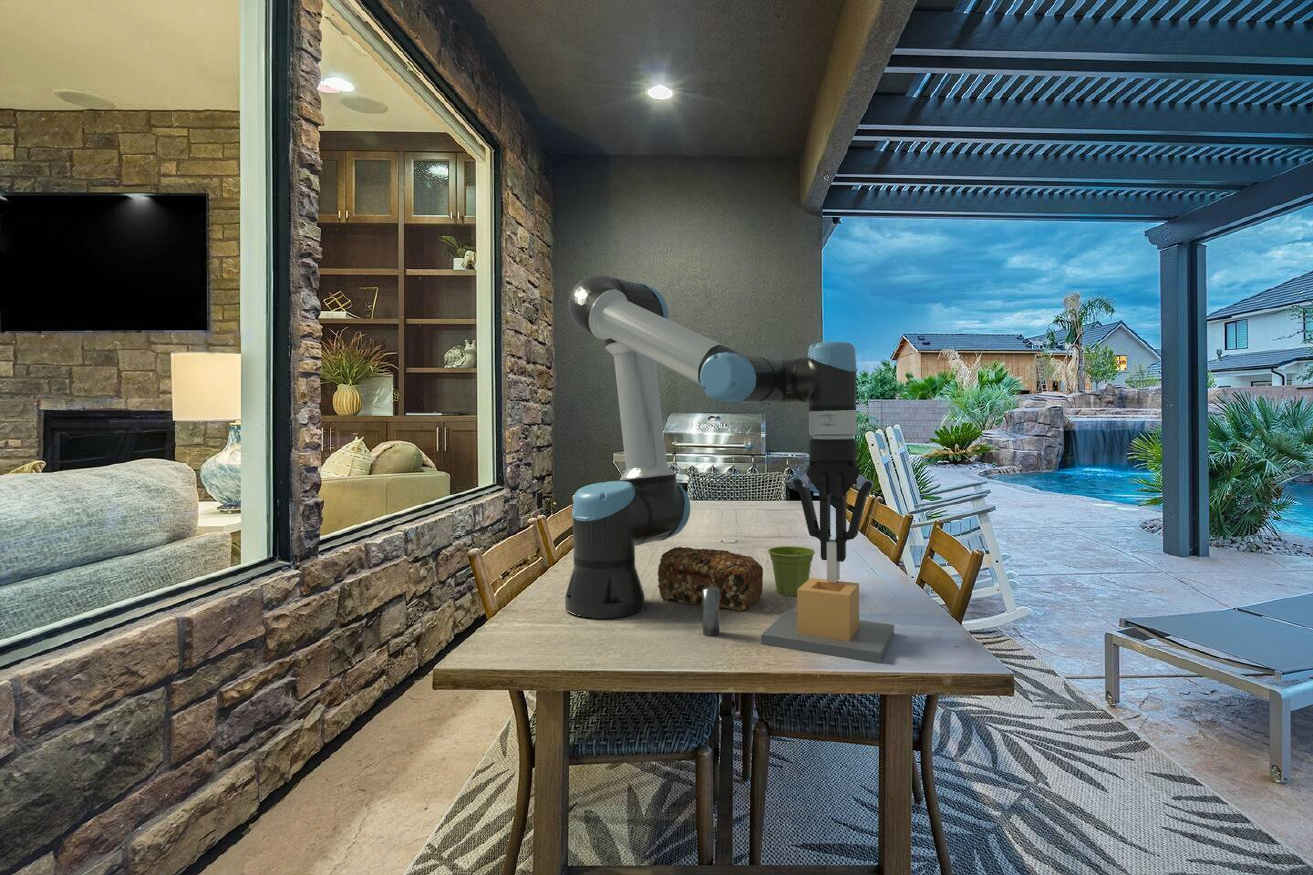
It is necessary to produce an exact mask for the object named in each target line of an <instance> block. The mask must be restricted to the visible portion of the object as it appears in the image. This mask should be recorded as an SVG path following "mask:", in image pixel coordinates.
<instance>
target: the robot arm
mask: <svg viewBox="0 0 1313 875" xmlns="http://www.w3.org/2000/svg"><path fill="white" fill-rule="evenodd" d="M567 305H568V313H569V315H570V318H571V320H572V322H573V323H574V324H575V325H576V326H577V327H578V328H579V329H580V330H582V331H584V333H585V332H586V333H587V334H589V335H592V336H594V337H595V338H597V339H599V340H604V346H605V350H606V351H607V352H608V353H609V354H610V355H612V357H613V361H614V369H615V378H616V388H617V396H618V408H619V416H620V425H621V426H620V427H621V433H622V436H621V437H622V443H623V444H622V445H623V452H624V461H625V462H624V463H625V472H624V473H623V474H622V475H621V477H620V478H619V480H612V481H611V480H610V481H606V482H596V483H592V484H589V485H585V486H583V487H581V488H579V489H578V490H577V491H576V492H575V493H574V495H573V498H572V500H573V503H572V510H571V515H572V529H573V530H572V531H573V532H572V533H573V534H572V536H573V537H572V538H573V541H572V543H573V569H572V573H571V576H570V579H569V583H568V586H567V589H566V593H565V595H564V597H565V598H564V604H565V607H564V609H565V608H566V609H565V611H566V610H568V611H570V612H572V613H574V614H576V615H580V616H584V617H583V618H585V617H593V618H592V619H615V618H623V617H627V616H631V615H634V614H637V613H639V612H641V611H642V610H644V608H645V607H646V604H645V603H646V599H645V597H646V596H645V591H644V588H643V585H642V582H641V579H640V577H639V574H638V570H637V568H636V546H639V545H640V546H641V545H645V544H648V543H652V542H659V541H665V540H667V539H669V538H672V537H675V536H676V535H678V534H679V533H681V532H682V530H683V529H684V528H685V527H686V525H687V523H688V521H689V519H690V514H691V501H690V497H689V495H688V493H687V491H686V490H684V487H683V486H682V485H681V484H679V483H677V476H676V471H674V470H673V469H672V468H670V466H669V465H668V459H667V452H666V444H665V442H666V441H665V433H664V426H663V425H664V424H663V416H662V407H661V406H662V405H661V398H660V397H661V396H660V389H659V387H660V386H659V379H658V378H659V377H658V371H657V370H658V369H657V364H659V365H661V366H663V367H664V368H667V369H669V370H671V371H672V372H674V373H675V374H678V375H680V376H681V377H684V378H686V379H688V380H689V381H692V382H694V383H696V384H697V385H699V386H701V388H702V390H703V391H704V393H705V394H706V395H707V396H708V397H709V398H710V399H713V401H717V402H723V403H727V404H735V403H753V404H760V405H761V404H763V405H772V404H783V403H784V404H785V403H808V426H809V427H808V429H809V430H808V431H809V435H810V436H811V437H812V438H810V439H809V441H808V446H809V447H808V452H809V454H808V455H809V457H808V461H809V463H808V467H807V469H806V470H805V471H806V472H805V474H803V475H802V476H800V477H798V478H795V479H794V480H793V482H792V483H793V486H794V488H795V489H796V490H797V493H798V494H799V498H800V502H801V505H802V510H803V515H804V518H805V523H806V527H807V530H808V534H809V536H810V537H815V538H817V539H818V540H819V541H820V542H819V543H820V560H821V561H826V580H827V582H834V583H836V582H837V581H840V580H841V576H840V575H841V574H840V572H841V570H840V567H841V565H840V564H841V563H840V562H842V563H843V562H844V561H845V560H846V558H847V541H849V540H854V539H855V538H856V537H858V535H859V530H860V526H861V521H862V519H863V514H864V510H865V506H866V502H867V498H868V496H869V495H868V494H869V493H870V491H872V489H873V487H874V486H875V483H874V481H873V479H867V478H866V477H865V476H863V475H861V470H860V469H859V466H858V463H857V462H858V460H857V459H858V456H857V454H858V452H857V451H858V448H857V444H858V443H857V440H856V439H855V438H854V436H856V435H857V434H858V431H857V424H858V423H857V422H858V420H857V417H858V416H857V414H858V413H857V372H858V368H857V357H856V356H857V354H856V349H855V346H854V345H853V344H852V343H850V342H846V341H824V342H823V341H822V342H818V343H812V344H811V345H810V346H809V347H808V350H807V352H808V353H807V356H804V357H798V358H797V357H796V358H771V357H770V358H769V357H761V356H753V355H749V354H748V355H747V354H743V353H741V352H739V351H737V350H735V349H733V348H730V347H728V346H725V345H724V344H722V343H719V342H717V341H715V340H712V339H711V338H709V337H706V336H704V335H702V334H700V333H697V332H696V331H694V330H692V329H690V328H688V327H685V326H682V325H680V324H678V323H677V322H675V321H672V320H670V319H669V308H668V303H667V302H666V299H665V297H664V296H663V294H662V293H660V292H659V291H658V290H657V289H655V288H654V287H652V286H649V285H647V284H645V283H643V282H636V281H630V280H626V279H625V280H624V279H620V278H617V277H616V278H615V277H611V276H608V275H603V274H602V275H601V274H594V275H590V276H587V277H585V278H583V279H581V280H579V281H578V283H576V284H575V285H574V286H573V287H572V290H571V292H570V294H569V298H568V304H567ZM810 482H811V483H812V485H813V486H814V488H815V489H816V490H817V491H818V499H819V522H818V518H817V514H816V509H815V504H814V503H813V497H812V493H811V490H810V488H809V487H810V486H811V483H810ZM855 483H857V484H856V485H857V486H856V488H857V490H858V493H857V495H856V498H855V502H854V506H853V511H852V514H851V518H850V522H849V526H848V530H847V496H848V492H849V491H850V490H851V488H852V487H853V485H854V484H855ZM832 494H833V495H834V500H835V539H831V537H832V534H831V533H832V531H831V530H832V529H831V499H832Z"/></svg>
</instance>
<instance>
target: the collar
mask: <svg viewBox="0 0 1313 875" xmlns="http://www.w3.org/2000/svg"><path fill="white" fill-rule="evenodd" d="M796 597H797V599H796V600H797V605H796V606H797V611H796V612H797V628H798V634H805V635H812V636H818V637H825V638H832V639H838V640H845V641H850V639H851V638H852V636H853V635H854V633H855V631H856V630H857V628H858V627H859V620H860V583H859V582H851V581H850V582H849V581H840V580H838V581H837V582H836V583H834V582H827V579H824V578H821V579H820V578H811V577H809V580H807V581H806V582H805V583H804V584H803V585H802V586H801V587H800V588H798V589H797V596H796Z"/></svg>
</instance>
